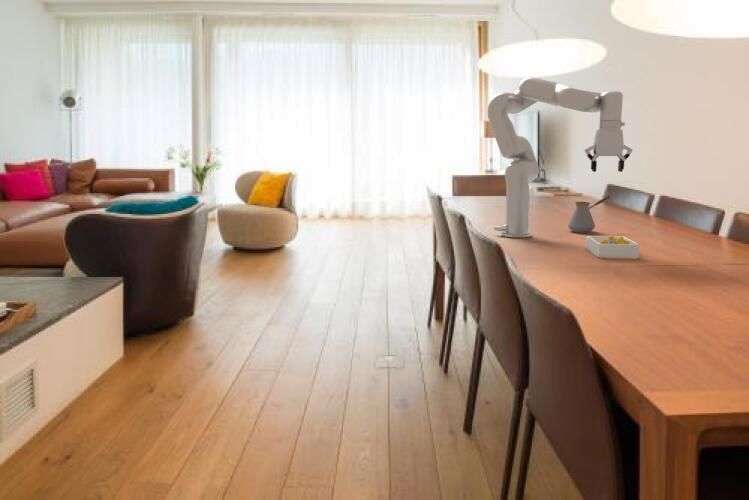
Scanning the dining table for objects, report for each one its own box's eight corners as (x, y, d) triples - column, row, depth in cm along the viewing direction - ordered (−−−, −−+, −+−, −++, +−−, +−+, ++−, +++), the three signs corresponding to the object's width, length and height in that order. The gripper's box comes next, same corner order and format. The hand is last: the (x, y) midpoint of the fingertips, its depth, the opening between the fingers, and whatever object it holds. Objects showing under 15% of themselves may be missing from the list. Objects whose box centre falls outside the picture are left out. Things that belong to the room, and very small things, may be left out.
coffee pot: (579, 234, 261) (581, 199, 259) (561, 230, 272) (563, 197, 269) (618, 231, 269) (620, 197, 267) (599, 227, 280) (601, 194, 277)
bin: (598, 258, 212) (599, 244, 211) (585, 248, 229) (586, 235, 228) (638, 258, 211) (639, 244, 210) (622, 249, 228) (623, 236, 227)
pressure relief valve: (599, 253, 221) (629, 252, 218) (600, 245, 210) (631, 244, 207) (598, 239, 223) (628, 237, 219) (599, 230, 212) (630, 228, 208)
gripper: (630, 125, 232) (627, 170, 235) (583, 125, 233) (581, 170, 237) (637, 125, 225) (633, 172, 228) (589, 125, 226) (586, 172, 229)
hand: (607, 171), depth 232 cm, fingers open, 9 cm apart
